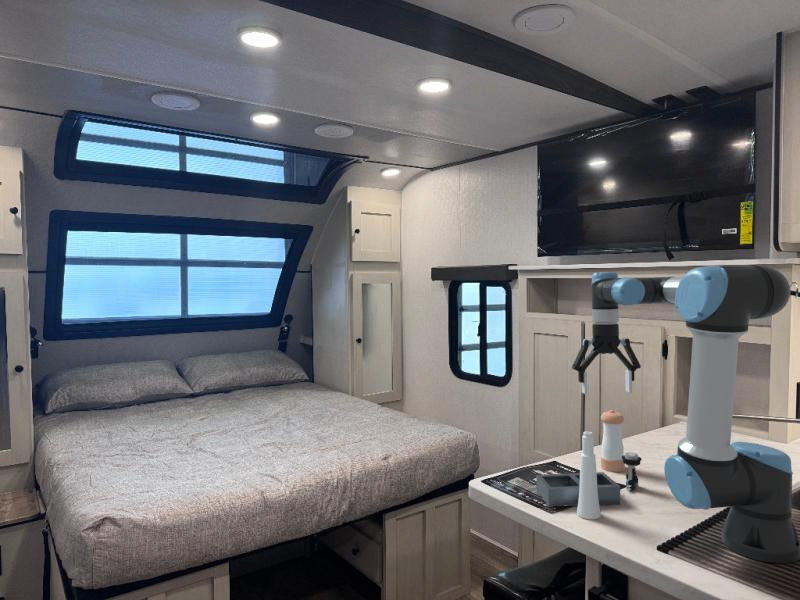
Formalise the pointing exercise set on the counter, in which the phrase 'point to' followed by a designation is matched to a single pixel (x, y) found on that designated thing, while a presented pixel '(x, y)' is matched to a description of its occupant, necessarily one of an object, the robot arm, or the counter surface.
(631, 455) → the push button
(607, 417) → the pepper shaker
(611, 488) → the square-hole rail
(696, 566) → the counter surface
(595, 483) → the cosmetic bottle
